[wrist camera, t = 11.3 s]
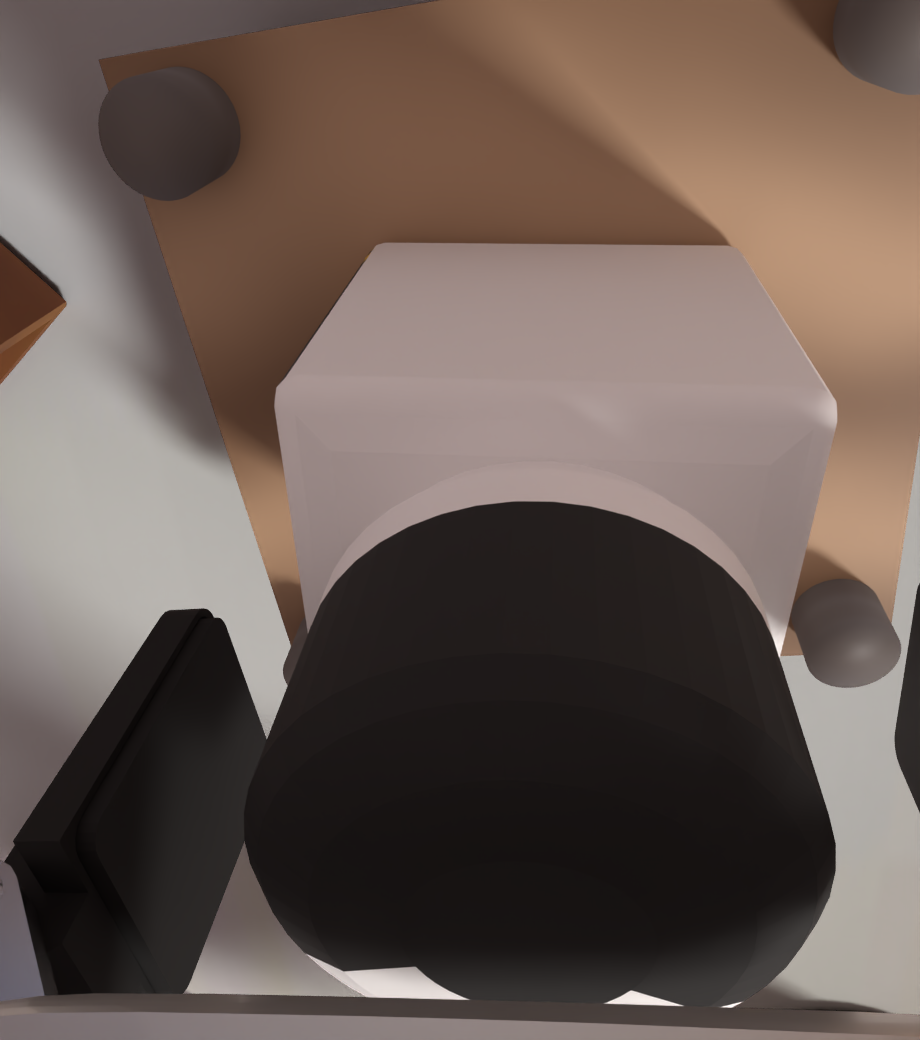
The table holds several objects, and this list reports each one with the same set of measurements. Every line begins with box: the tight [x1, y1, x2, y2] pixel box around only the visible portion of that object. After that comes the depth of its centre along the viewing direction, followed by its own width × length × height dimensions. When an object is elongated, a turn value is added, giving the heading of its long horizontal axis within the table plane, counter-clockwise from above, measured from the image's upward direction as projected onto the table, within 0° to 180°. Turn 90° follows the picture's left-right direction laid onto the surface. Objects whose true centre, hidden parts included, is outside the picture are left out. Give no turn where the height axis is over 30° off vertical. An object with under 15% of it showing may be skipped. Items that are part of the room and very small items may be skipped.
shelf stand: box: [99, 0, 920, 688], centre depth 20 cm, size 15×15×8 cm
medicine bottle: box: [244, 243, 837, 1008], centre depth 13 cm, size 7×7×12 cm
